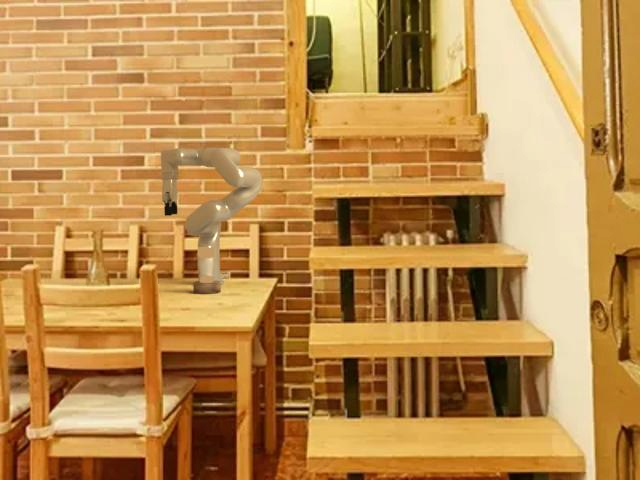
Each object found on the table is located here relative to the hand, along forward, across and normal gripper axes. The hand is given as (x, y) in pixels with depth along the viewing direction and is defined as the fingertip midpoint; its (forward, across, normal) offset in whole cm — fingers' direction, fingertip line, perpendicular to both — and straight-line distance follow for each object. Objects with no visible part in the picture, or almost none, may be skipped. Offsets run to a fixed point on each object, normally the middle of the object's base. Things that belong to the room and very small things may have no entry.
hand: (171, 214), depth 321 cm
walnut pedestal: (+30, +30, +22) cm, 48 cm away
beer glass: (+26, +30, +22) cm, 46 cm away
